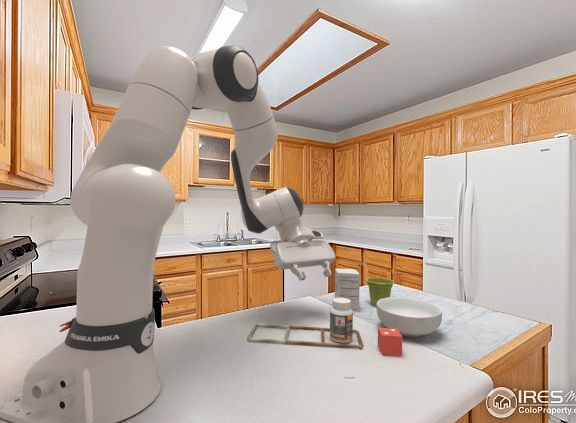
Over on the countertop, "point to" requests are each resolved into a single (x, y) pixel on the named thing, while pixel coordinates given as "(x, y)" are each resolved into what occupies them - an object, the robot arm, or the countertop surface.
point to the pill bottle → (341, 320)
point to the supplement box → (348, 286)
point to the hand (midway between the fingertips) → (316, 277)
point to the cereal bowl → (409, 315)
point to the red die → (390, 341)
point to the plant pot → (379, 289)
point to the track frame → (302, 341)
